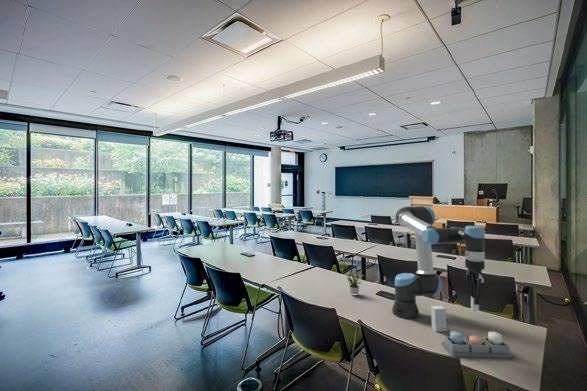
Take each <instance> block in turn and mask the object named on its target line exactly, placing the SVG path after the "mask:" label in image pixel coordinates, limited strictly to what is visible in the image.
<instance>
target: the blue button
mask: <svg viewBox="0 0 587 391" xmlns="http://www.w3.org/2000/svg"><path fill="white" fill-rule="evenodd" d="M449 335H450V336H449V337H450V341H451V342H453V343H455V344H463V337H464V334H463V333H462V332H460V331H457V330H456V331H455V330H452V331H449Z"/></svg>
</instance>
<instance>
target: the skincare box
mask: <svg viewBox="0 0 587 391" xmlns="http://www.w3.org/2000/svg"><path fill="white" fill-rule="evenodd" d="M430 311H431V329H432V330H433V331H434V332H436V333H437V332H447V308H445V307H444V306H443V305H430Z"/></svg>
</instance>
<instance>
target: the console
mask: <svg viewBox="0 0 587 391" xmlns="http://www.w3.org/2000/svg"><path fill="white" fill-rule="evenodd" d="M481 338H482V340H483V345H472V344H471V343H470V342H469V336H463V344H455V343H453V342H451V341H450V336H444V341H441V346H442V347H443V348H444V349H445V350H446V351H447V352H448V354H449V355H450V356H451V355H452V356H458V358H459V357H462V358H492V359H493V358H496V359H497V358H499V359H501V358H502V359H505V358H506V359H513V358H514V355H513V354H512V353H511V352H510V346H509V345H508V344H507V343H506V342H504V340H502V345H495V344H492V343H490V342H489V341H488V336H486V337H485V336H484V337H481ZM452 356H451V357H452Z"/></svg>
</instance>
